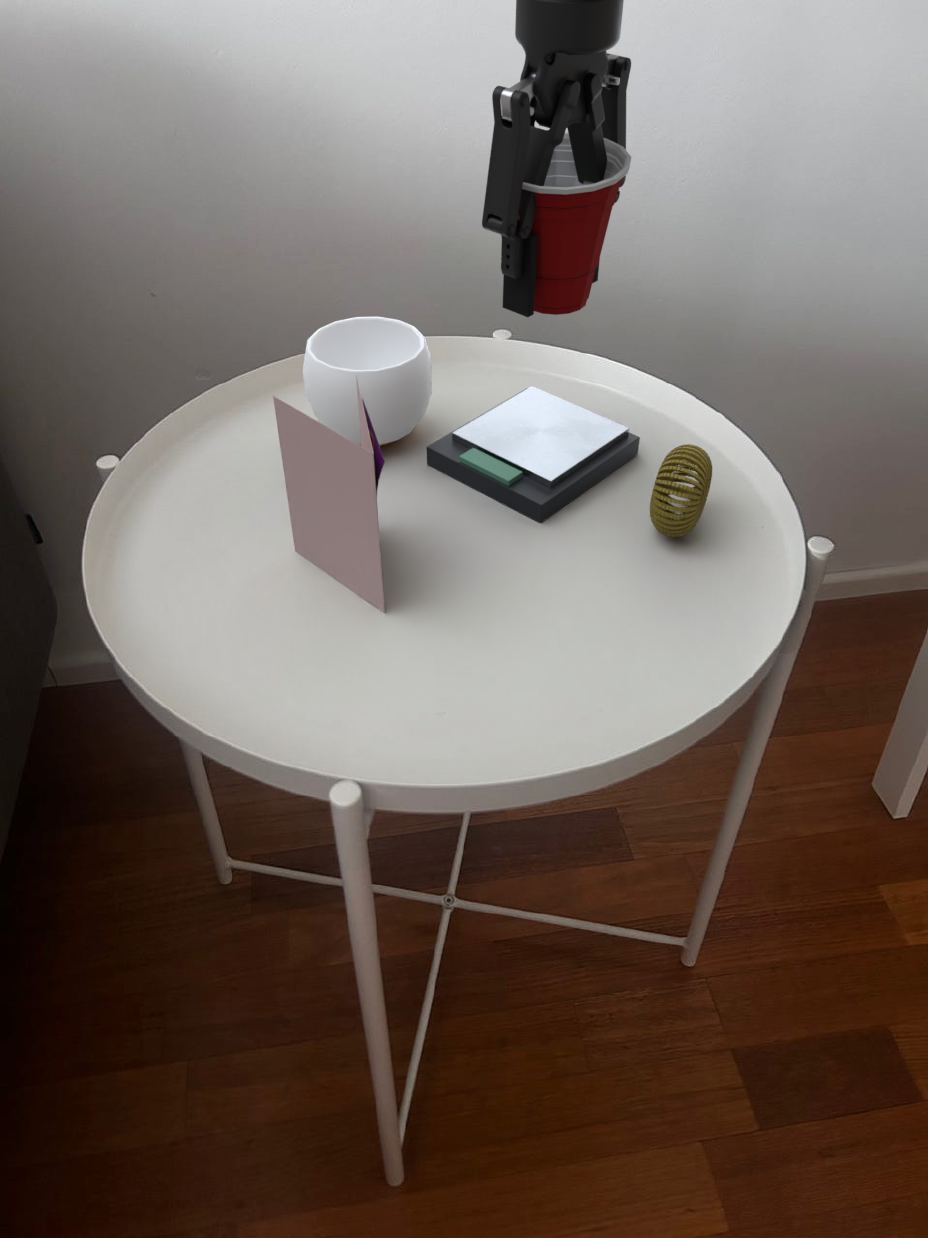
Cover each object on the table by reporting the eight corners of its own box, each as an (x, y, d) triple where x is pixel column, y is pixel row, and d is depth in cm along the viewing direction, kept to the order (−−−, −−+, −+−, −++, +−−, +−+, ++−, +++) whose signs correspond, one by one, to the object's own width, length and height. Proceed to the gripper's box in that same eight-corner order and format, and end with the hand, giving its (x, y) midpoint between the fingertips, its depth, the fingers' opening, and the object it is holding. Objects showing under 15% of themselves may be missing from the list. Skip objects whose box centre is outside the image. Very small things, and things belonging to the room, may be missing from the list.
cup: (287, 425, 102) (275, 336, 95) (389, 388, 107) (385, 302, 101) (352, 481, 94) (343, 389, 88) (458, 439, 100) (458, 349, 93)
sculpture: (665, 498, 92) (677, 422, 87) (708, 509, 91) (723, 433, 86) (638, 547, 87) (650, 469, 82) (684, 560, 86) (699, 481, 80)
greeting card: (395, 611, 81) (385, 452, 71) (302, 623, 80) (279, 463, 70) (378, 527, 89) (367, 373, 79) (293, 536, 88) (271, 382, 78)
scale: (637, 454, 98) (641, 429, 96) (540, 523, 90) (542, 497, 88) (526, 404, 105) (527, 380, 103) (426, 464, 97) (425, 439, 95)
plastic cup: (470, 317, 84) (470, 166, 76) (514, 267, 91) (519, 125, 83) (595, 340, 81) (610, 185, 73) (631, 286, 88) (647, 140, 80)
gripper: (615, -48, 78) (589, 245, 93) (427, -4, 66) (434, 321, 81) (698, -35, 74) (657, 268, 89) (515, 13, 62) (505, 351, 78)
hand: (551, 293), depth 85 cm, fingers closed on plastic cup, 8 cm apart
